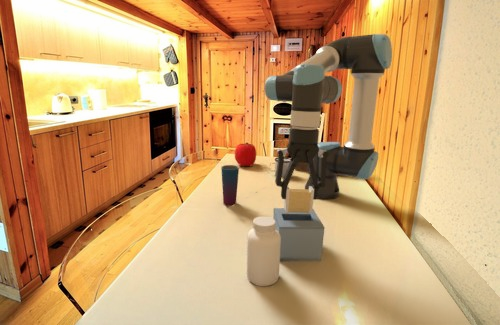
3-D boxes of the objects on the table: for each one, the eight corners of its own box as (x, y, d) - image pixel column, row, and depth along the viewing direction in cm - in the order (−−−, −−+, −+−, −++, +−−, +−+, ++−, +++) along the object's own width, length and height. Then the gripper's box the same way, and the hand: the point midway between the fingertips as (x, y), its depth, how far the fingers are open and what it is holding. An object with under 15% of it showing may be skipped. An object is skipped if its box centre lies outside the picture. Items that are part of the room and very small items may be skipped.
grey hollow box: (310, 238, 89) (313, 208, 87) (321, 260, 78) (324, 227, 75) (272, 237, 89) (273, 208, 86) (277, 260, 77) (279, 226, 75)
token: (307, 209, 81) (309, 189, 80) (309, 212, 79) (311, 192, 77) (286, 208, 81) (287, 188, 79) (287, 212, 79) (289, 191, 77)
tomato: (248, 169, 162) (248, 146, 158) (228, 165, 169) (229, 143, 165) (262, 164, 174) (263, 142, 171) (243, 160, 181) (244, 139, 178)
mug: (291, 173, 156) (293, 157, 154) (291, 179, 147) (292, 162, 145) (270, 172, 158) (271, 156, 156) (268, 177, 149) (268, 160, 147)
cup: (235, 207, 110) (236, 170, 106) (218, 205, 112) (219, 168, 108) (239, 201, 117) (240, 165, 113) (223, 199, 118) (224, 164, 114)
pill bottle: (245, 267, 74) (246, 213, 70) (275, 266, 75) (278, 213, 71) (247, 287, 66) (249, 229, 62) (281, 286, 67) (285, 228, 63)
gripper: (335, 126, 78) (327, 204, 84) (266, 124, 77) (263, 203, 83) (345, 130, 71) (335, 215, 77) (269, 128, 70) (265, 214, 76)
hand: (297, 209), depth 80 cm, fingers closed on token, 6 cm apart
